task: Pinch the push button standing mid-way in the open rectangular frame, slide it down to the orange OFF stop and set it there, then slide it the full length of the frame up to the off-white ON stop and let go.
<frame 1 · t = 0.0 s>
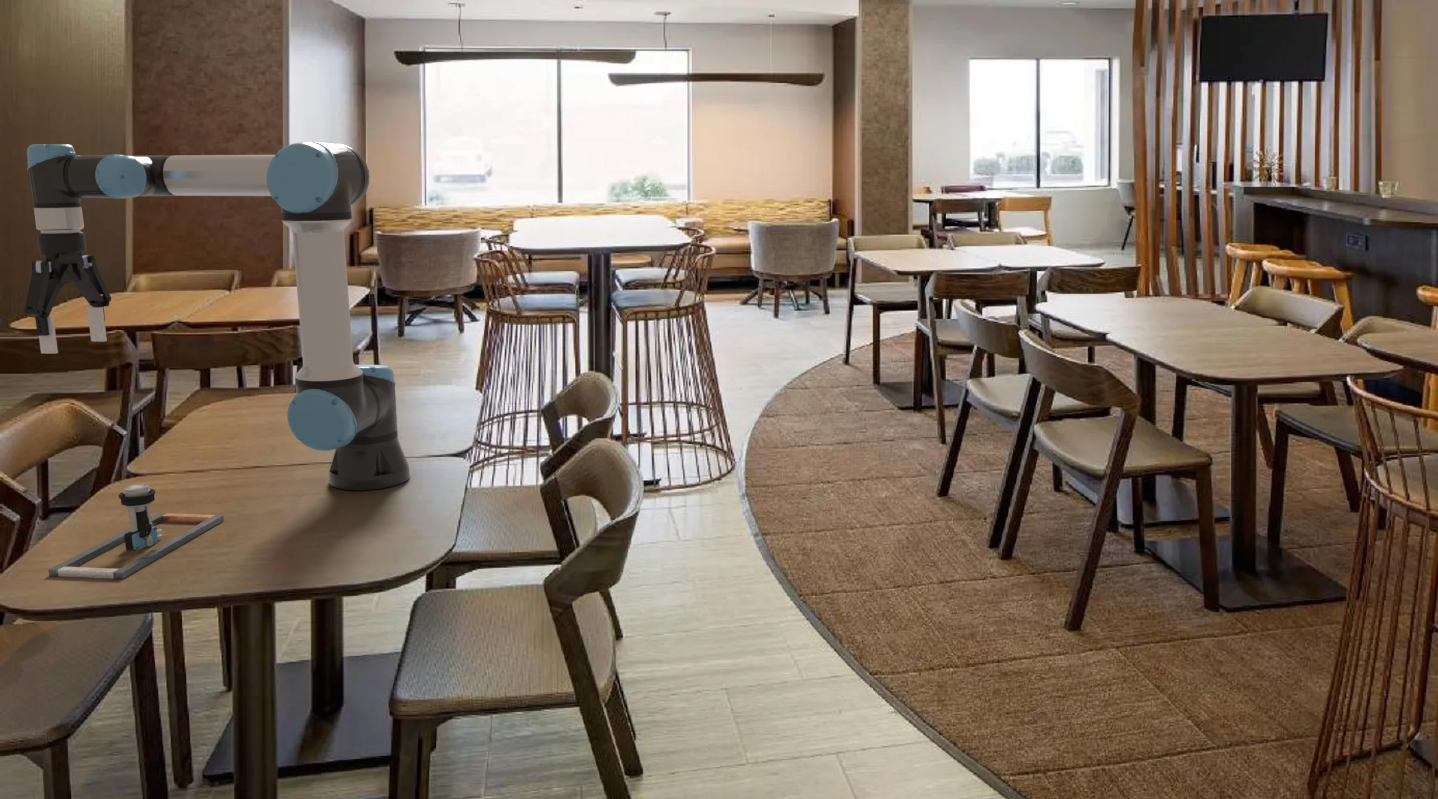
hand: (75, 347, 207), 28 cm above the table, tool pointing down, fingers open, 13 cm apart
push button: (146, 545, 184), on the table
open rectangular frame: (142, 546, 182), on the table
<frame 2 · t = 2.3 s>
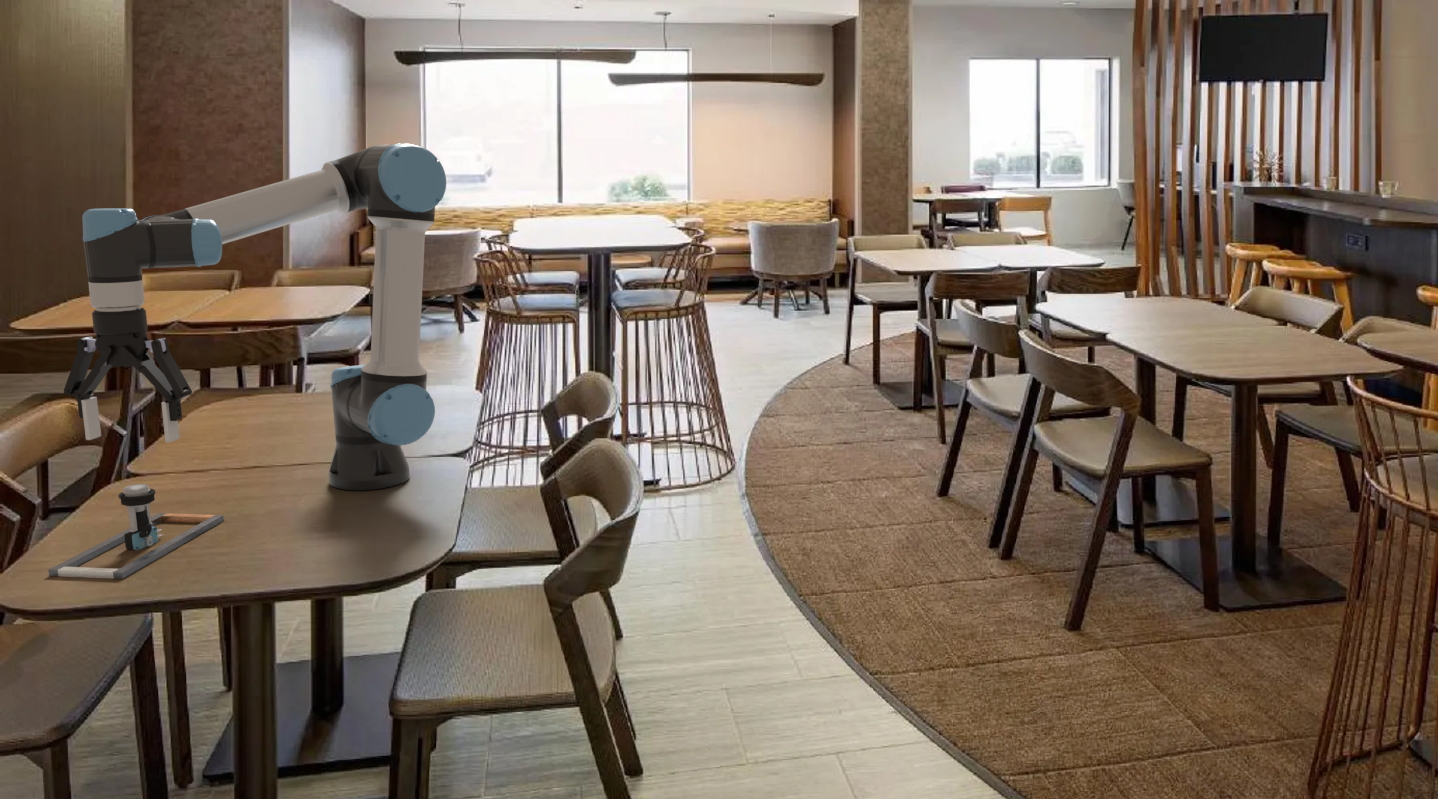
hand: (133, 439, 180), 18 cm above the table, tool pointing down, fingers open, 13 cm apart
nothing on the table moved.
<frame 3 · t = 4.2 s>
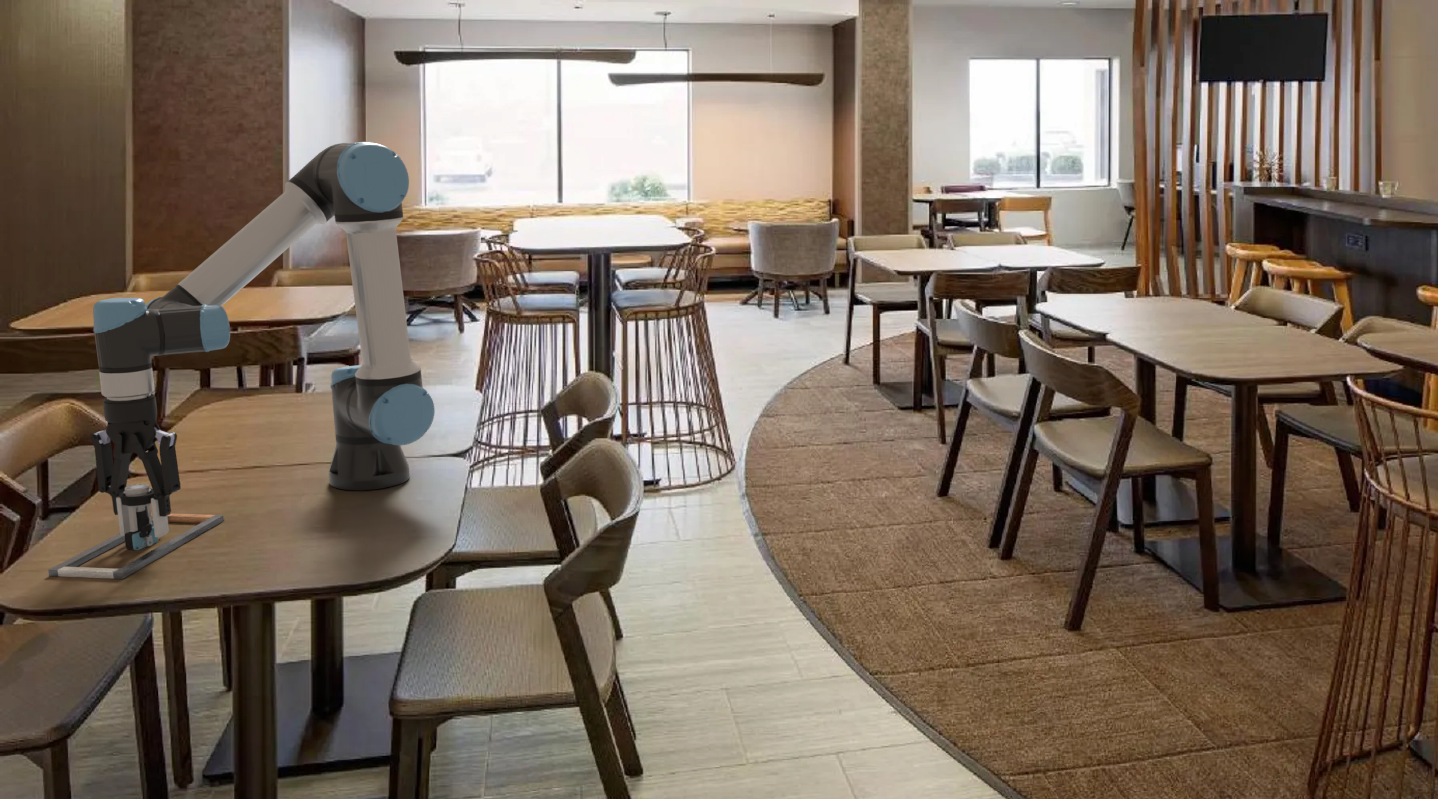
hand: (144, 533, 183), 2 cm above the table, tool pointing down, fingers closed on push button, 5 cm apart
push button: (146, 545, 183), on the table, touching gripper
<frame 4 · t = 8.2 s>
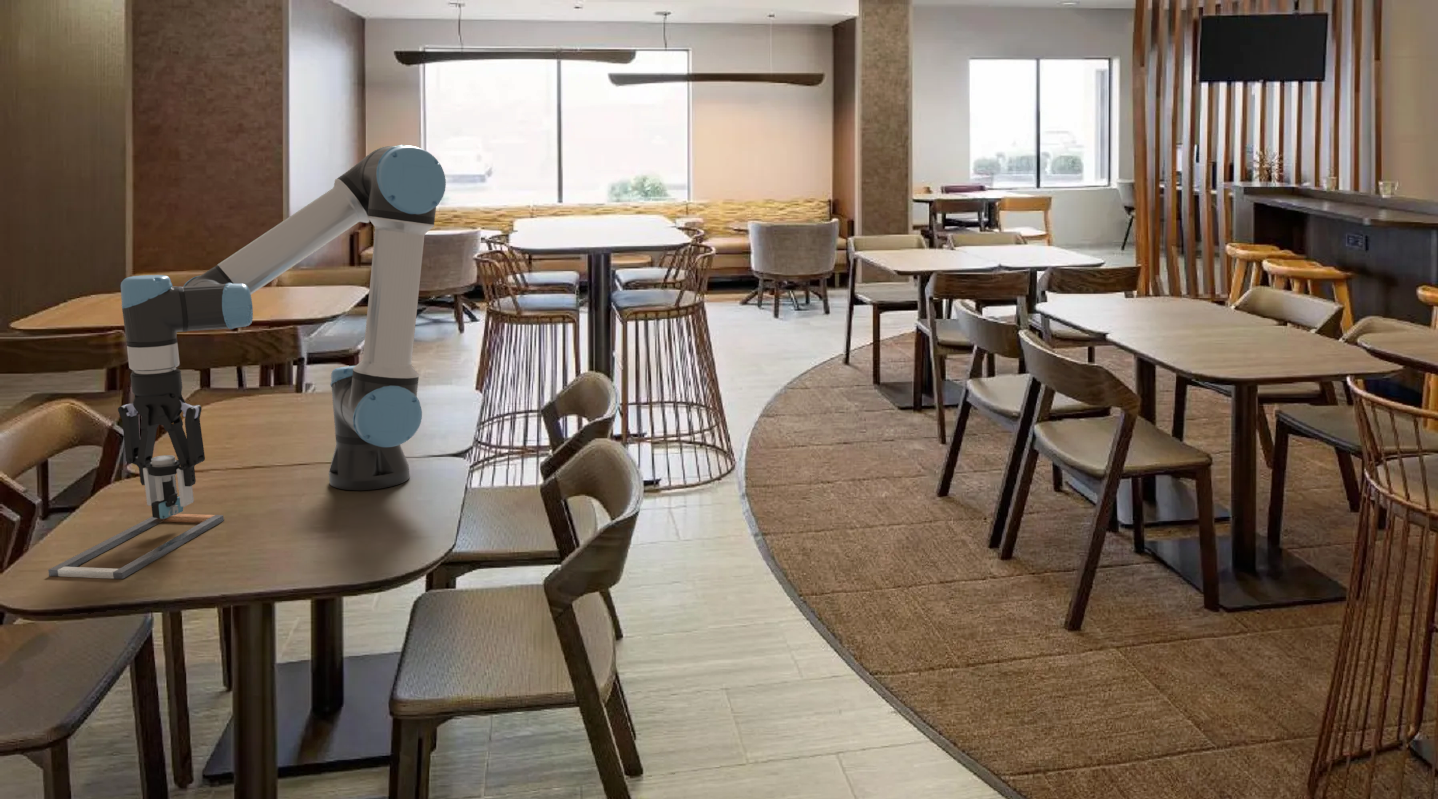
hand: (170, 503, 190), 5 cm above the table, tool pointing down, fingers closed on push button, 5 cm apart
push button: (172, 514, 190), point 3 cm above the table, touching gripper
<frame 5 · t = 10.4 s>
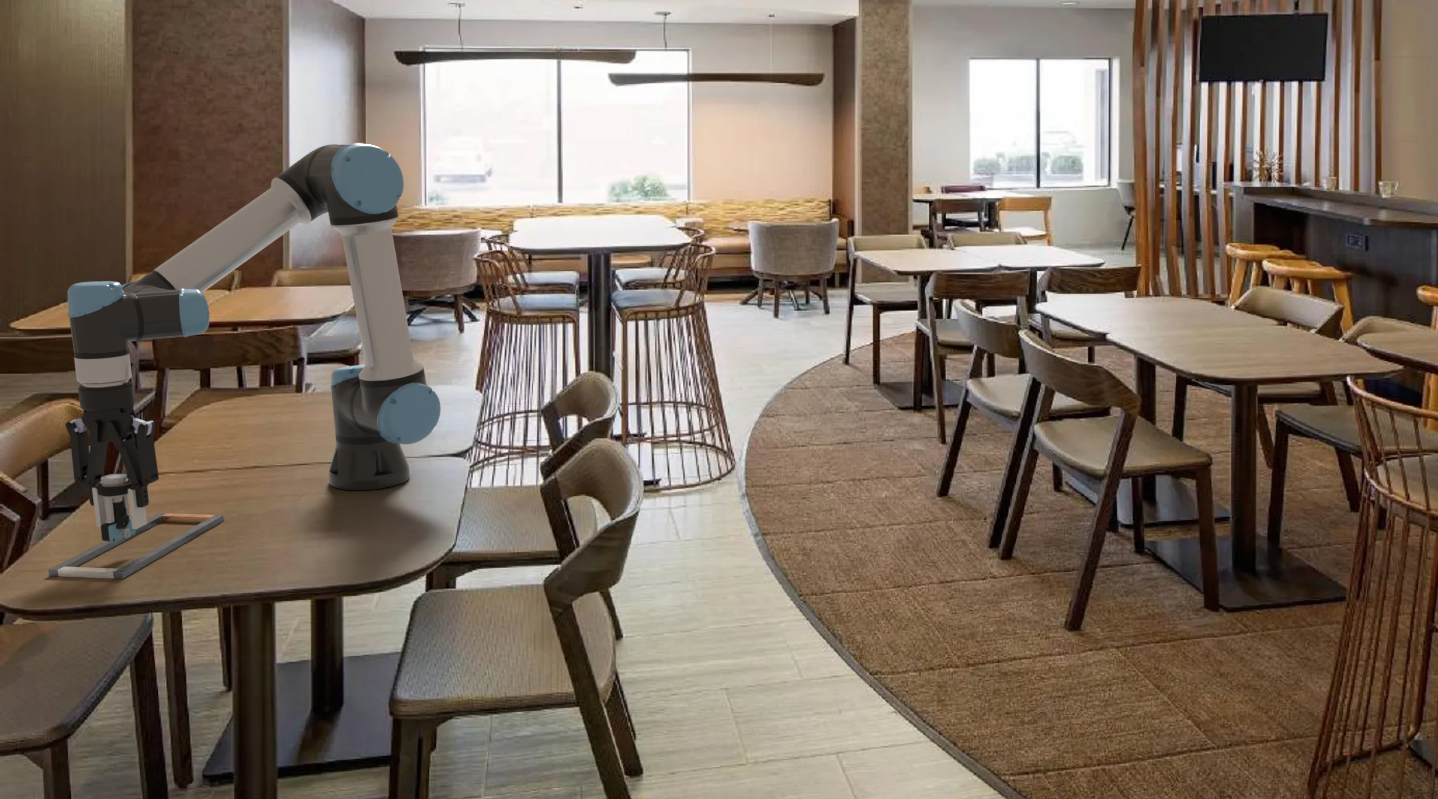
hand: (122, 525, 177), 5 cm above the table, tool pointing down, fingers closed on push button, 5 cm apart
push button: (123, 537, 178), point 3 cm above the table, touching gripper
when the fingers open (2 cm above the table, at t = 12.3 s): push button stays where it is, on the table.
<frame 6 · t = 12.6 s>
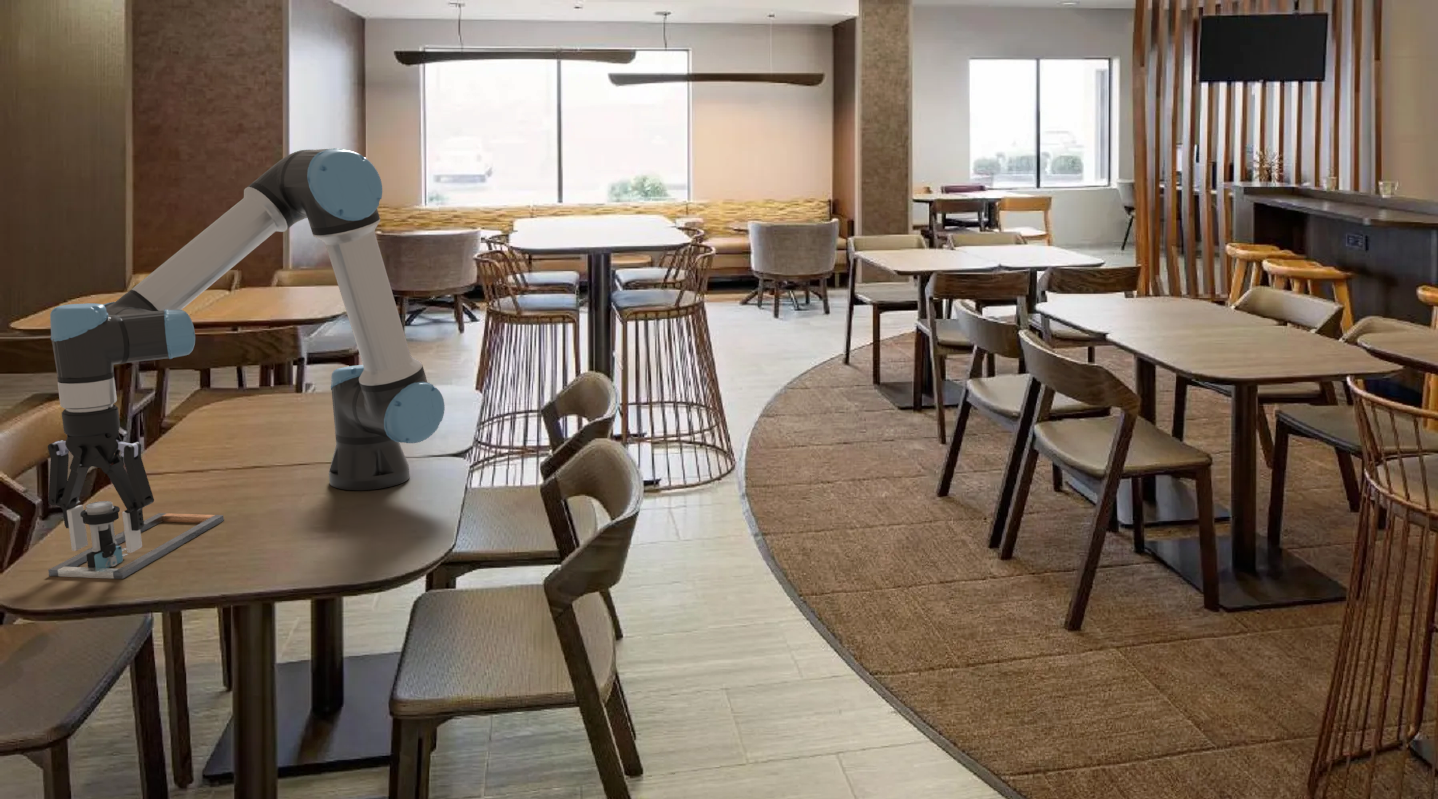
hand: (107, 548, 174), 3 cm above the table, tool pointing down, fingers open, 8 cm apart
push button: (110, 565, 174), on the table
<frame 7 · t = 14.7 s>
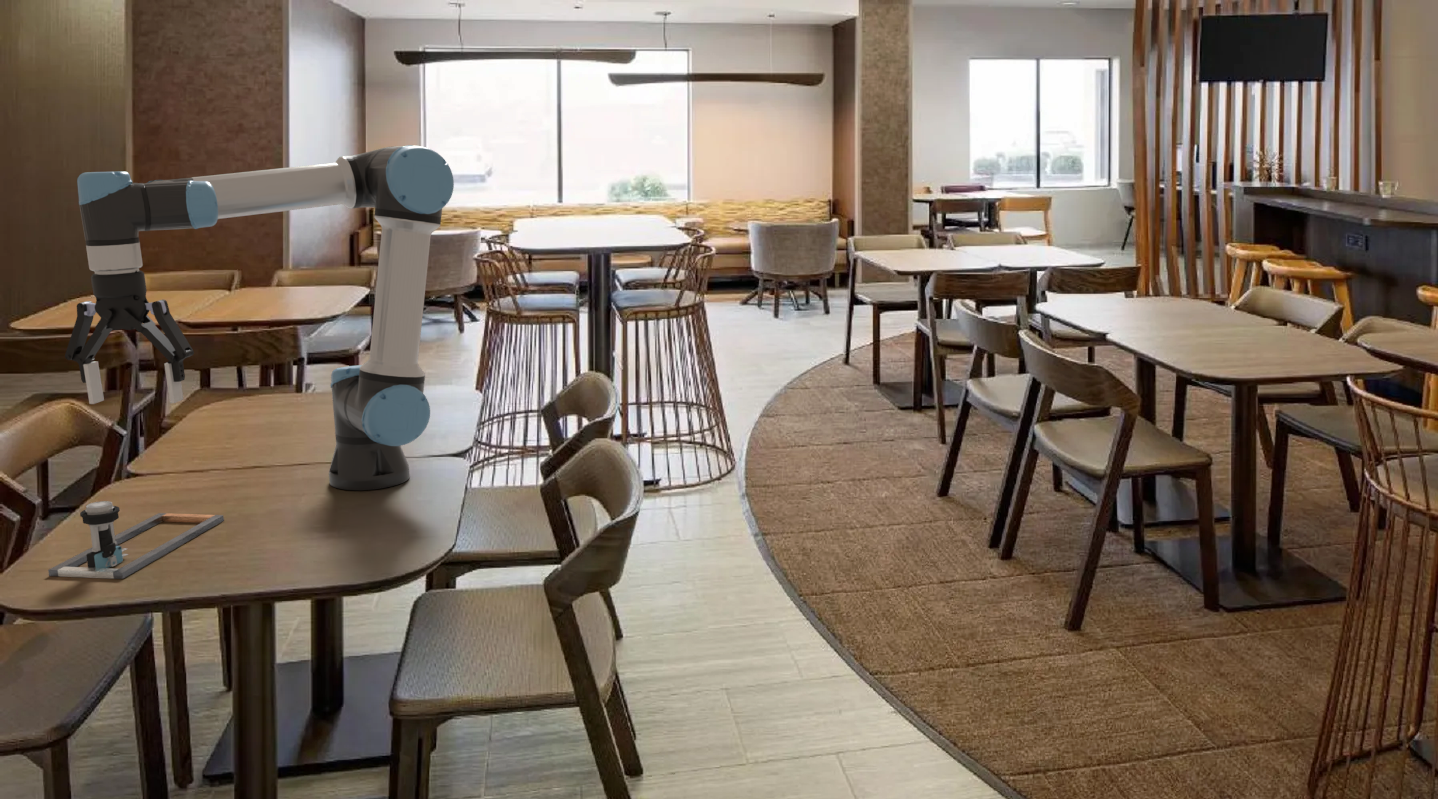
hand: (136, 401, 181), 23 cm above the table, tool pointing down, fingers open, 13 cm apart
nothing on the table moved.
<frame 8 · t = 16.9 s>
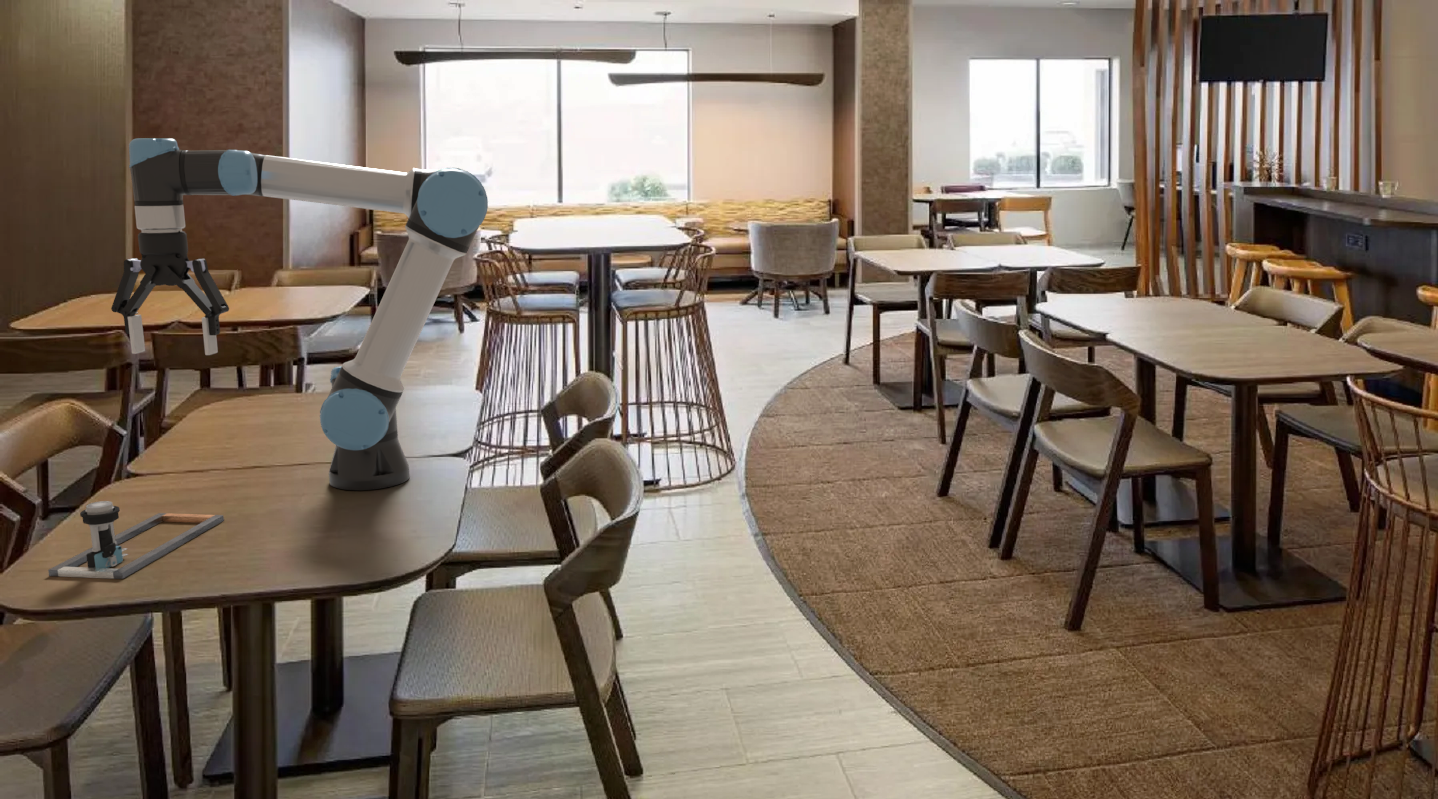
hand: (175, 353, 195), 29 cm above the table, tool pointing down, fingers open, 13 cm apart
nothing on the table moved.
at the end: push button inside the target area (0.1 cm from its centre), on the table; push button tilted 0°; push button moved 9.4 cm from its start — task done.
